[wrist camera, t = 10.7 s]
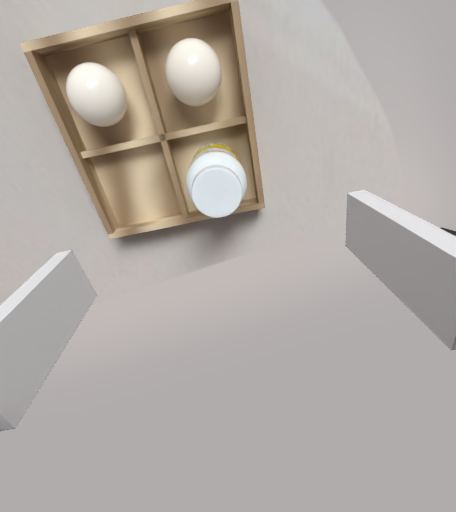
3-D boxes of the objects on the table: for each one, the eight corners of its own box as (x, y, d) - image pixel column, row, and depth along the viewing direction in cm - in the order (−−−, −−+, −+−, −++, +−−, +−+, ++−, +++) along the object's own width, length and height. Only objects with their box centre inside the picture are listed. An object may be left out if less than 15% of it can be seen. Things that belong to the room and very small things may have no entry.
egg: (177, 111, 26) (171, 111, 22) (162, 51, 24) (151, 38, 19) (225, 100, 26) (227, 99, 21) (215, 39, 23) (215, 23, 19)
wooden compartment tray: (118, 228, 32) (110, 239, 30) (41, 50, 24) (19, 43, 21) (260, 199, 31) (265, 207, 29) (234, 3, 23) (237, -11, 20)
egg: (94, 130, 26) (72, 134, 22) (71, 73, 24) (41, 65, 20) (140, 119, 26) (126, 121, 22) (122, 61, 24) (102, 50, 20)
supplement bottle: (197, 135, 27) (190, 147, 19) (246, 151, 28) (261, 168, 20) (186, 186, 29) (176, 216, 21) (232, 198, 30) (239, 232, 22)
